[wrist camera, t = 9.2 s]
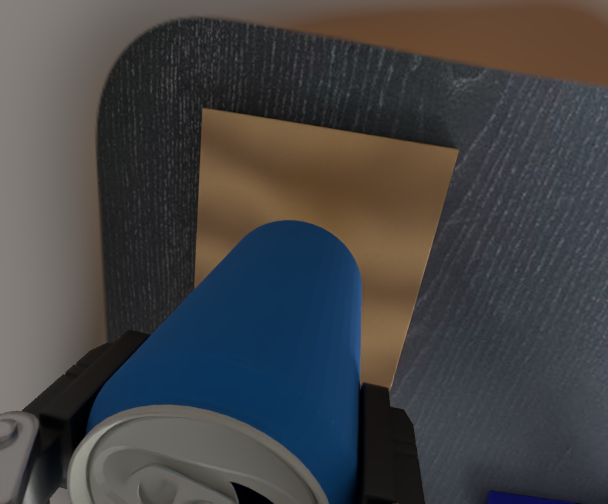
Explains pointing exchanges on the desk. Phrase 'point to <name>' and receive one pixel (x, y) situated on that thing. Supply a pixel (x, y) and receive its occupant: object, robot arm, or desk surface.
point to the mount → (519, 499)
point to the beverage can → (239, 386)
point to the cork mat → (329, 208)
